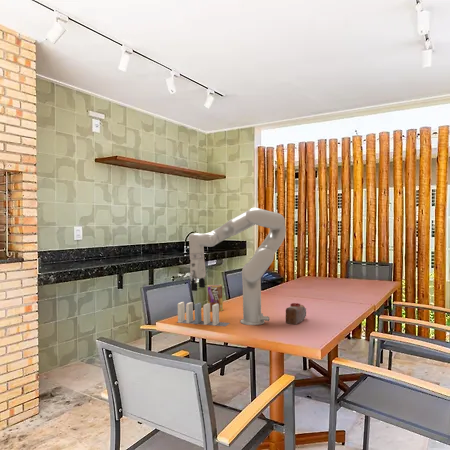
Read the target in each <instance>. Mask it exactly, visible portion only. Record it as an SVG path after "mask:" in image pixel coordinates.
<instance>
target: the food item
mask: <svg viewBox="0 0 450 450" xmlns="http://www.w3.org/2000/svg"><path fill="white" fill-rule="evenodd" d="M306 317H307V308H306V307H305V305H303V304H302V303H298V302H296V303H295V302H293V303H290V306H289V307H286V308H285V324H287V325H294V326H295V325H298V324H299V323H303V321H304V320H305V319H306Z"/></svg>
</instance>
